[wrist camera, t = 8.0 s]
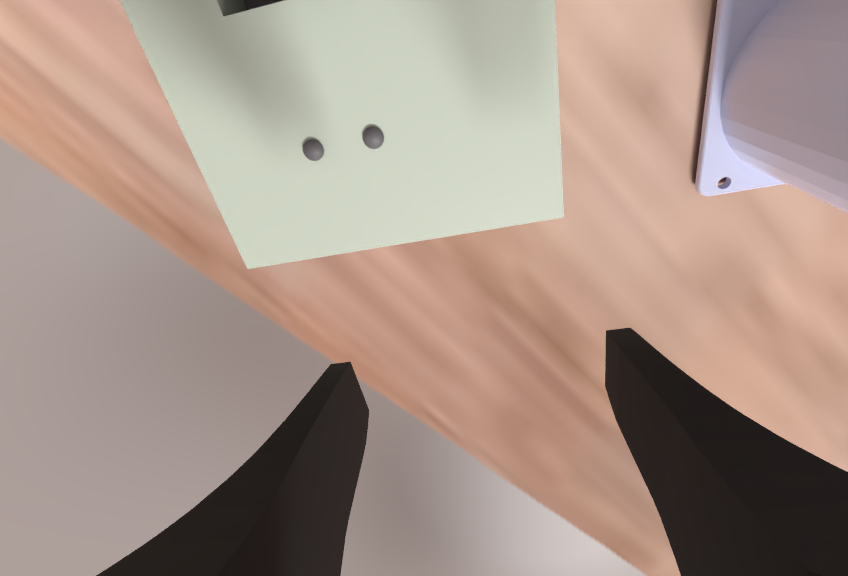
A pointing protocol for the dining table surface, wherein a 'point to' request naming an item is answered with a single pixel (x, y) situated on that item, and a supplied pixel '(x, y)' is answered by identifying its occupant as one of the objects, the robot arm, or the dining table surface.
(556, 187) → the outlet plate
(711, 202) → the dining table surface
